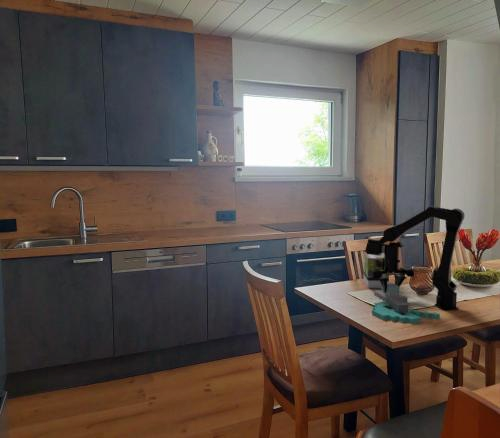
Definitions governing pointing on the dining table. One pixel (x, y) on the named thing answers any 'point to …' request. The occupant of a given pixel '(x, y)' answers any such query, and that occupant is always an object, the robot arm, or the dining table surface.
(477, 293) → the dining table surface
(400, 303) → the graphite chip
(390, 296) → the sanding block
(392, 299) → the graphite chip
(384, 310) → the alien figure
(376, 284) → the tea box
